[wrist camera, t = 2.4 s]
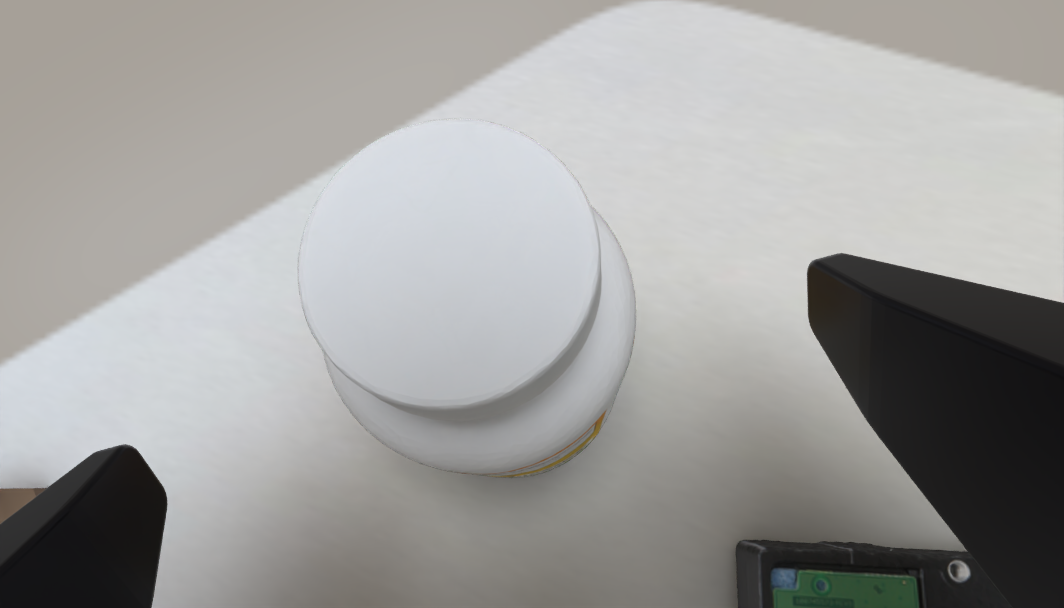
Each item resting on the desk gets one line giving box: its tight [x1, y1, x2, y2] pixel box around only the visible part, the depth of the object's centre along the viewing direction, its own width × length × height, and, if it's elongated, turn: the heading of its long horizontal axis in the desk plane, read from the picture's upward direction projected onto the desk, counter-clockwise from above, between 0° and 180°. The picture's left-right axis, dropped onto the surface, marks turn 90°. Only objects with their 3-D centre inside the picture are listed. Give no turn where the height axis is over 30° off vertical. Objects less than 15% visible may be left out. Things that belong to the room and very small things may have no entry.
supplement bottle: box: [298, 118, 636, 478], centre depth 13 cm, size 5×5×10 cm
